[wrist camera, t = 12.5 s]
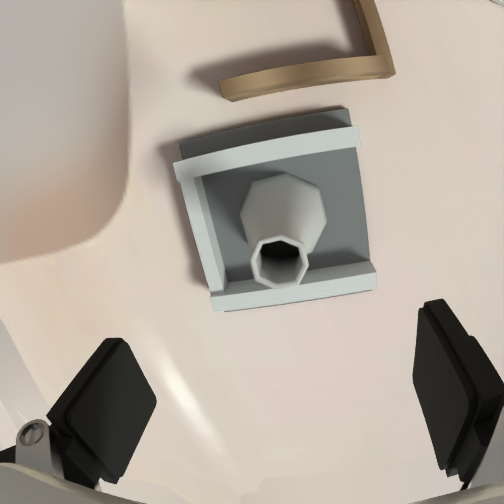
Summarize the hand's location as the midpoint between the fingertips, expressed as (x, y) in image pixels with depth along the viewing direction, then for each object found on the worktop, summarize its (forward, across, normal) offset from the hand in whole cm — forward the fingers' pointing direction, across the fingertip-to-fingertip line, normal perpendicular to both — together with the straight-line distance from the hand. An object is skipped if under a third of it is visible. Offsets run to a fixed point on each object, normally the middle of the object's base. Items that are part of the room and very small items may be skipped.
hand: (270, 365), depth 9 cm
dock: (+19, +1, 0) cm, 19 cm away
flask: (+18, 0, 0) cm, 19 cm away
